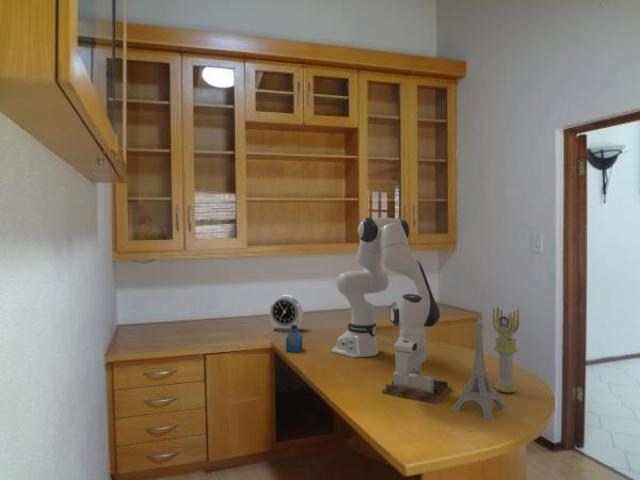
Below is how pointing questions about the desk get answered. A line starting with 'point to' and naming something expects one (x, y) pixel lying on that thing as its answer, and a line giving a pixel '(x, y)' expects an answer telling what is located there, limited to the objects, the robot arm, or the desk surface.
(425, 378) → the gray rectangular block
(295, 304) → the alarm clock
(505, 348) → the trophy
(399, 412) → the desk surface
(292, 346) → the perfume bottle
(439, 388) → the rack
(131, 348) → the desk surface
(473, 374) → the eiffel tower
